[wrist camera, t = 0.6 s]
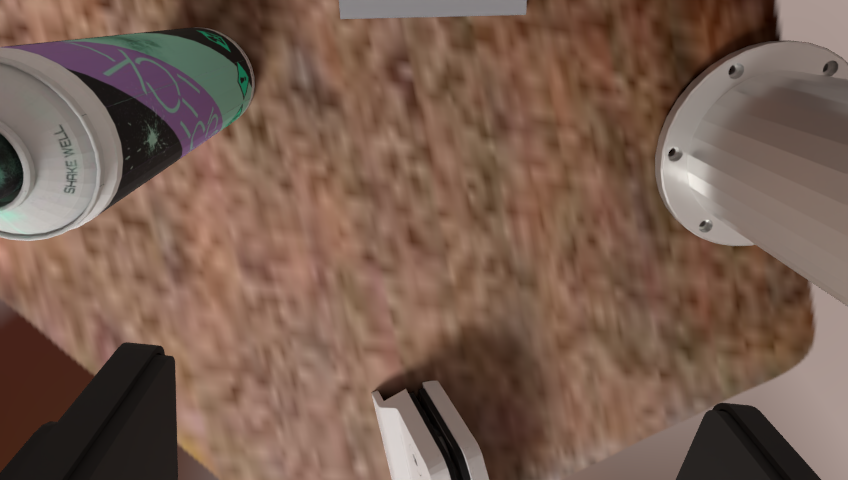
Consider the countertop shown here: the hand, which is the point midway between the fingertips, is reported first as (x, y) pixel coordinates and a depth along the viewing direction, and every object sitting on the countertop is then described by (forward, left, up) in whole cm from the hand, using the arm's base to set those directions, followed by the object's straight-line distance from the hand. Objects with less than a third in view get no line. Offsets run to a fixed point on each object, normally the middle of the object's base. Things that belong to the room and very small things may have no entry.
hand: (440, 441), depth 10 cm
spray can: (+12, -3, -26) cm, 28 cm away
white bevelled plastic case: (-1, +27, -26) cm, 37 cm away
